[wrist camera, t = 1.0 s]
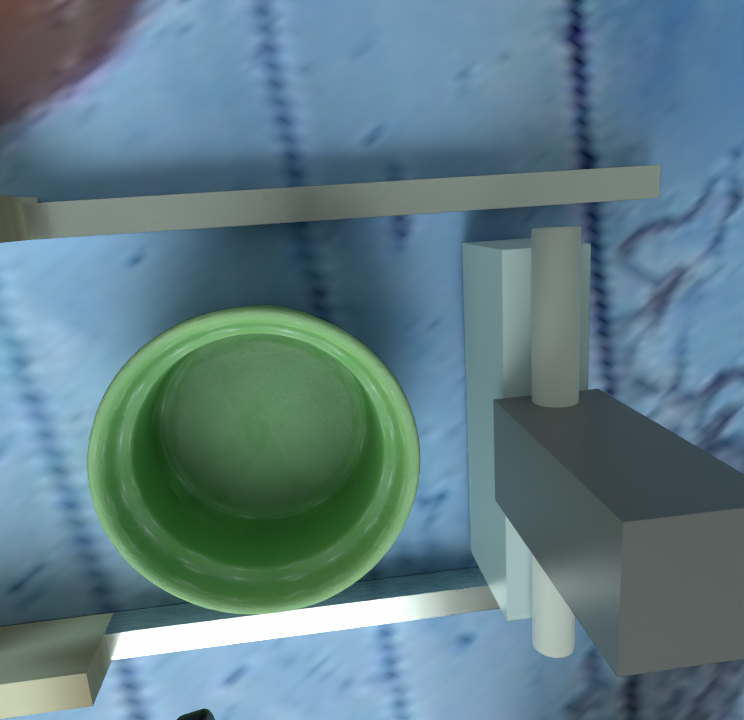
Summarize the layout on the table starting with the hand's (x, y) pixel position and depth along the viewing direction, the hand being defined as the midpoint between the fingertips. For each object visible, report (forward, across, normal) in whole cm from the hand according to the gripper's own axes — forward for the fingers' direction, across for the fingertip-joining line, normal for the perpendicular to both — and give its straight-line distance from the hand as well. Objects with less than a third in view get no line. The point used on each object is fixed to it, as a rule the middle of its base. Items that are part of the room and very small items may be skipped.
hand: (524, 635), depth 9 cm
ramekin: (+13, +4, +1) cm, 14 cm away
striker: (+13, -4, +2) cm, 13 cm away
